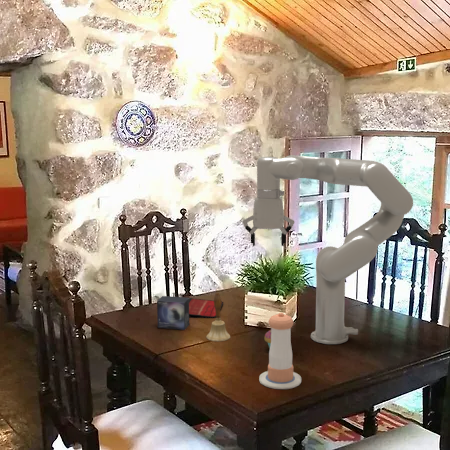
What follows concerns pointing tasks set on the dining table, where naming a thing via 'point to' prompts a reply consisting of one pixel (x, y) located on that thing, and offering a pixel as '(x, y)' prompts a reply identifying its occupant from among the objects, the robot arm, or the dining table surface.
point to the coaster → (280, 385)
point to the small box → (173, 312)
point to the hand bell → (218, 323)
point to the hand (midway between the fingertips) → (268, 245)
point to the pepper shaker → (280, 348)
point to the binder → (202, 308)
